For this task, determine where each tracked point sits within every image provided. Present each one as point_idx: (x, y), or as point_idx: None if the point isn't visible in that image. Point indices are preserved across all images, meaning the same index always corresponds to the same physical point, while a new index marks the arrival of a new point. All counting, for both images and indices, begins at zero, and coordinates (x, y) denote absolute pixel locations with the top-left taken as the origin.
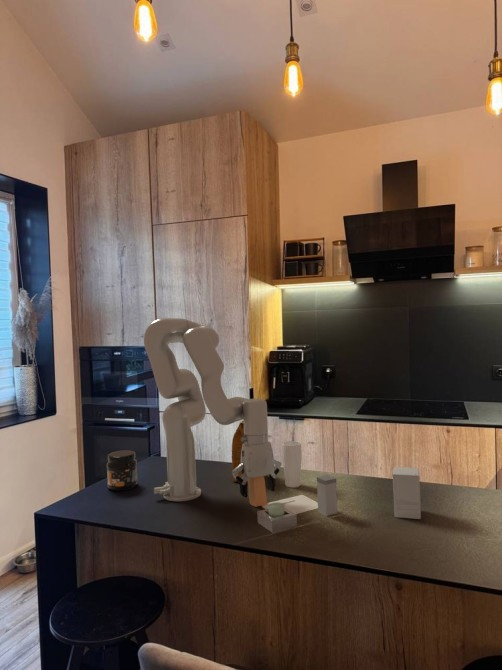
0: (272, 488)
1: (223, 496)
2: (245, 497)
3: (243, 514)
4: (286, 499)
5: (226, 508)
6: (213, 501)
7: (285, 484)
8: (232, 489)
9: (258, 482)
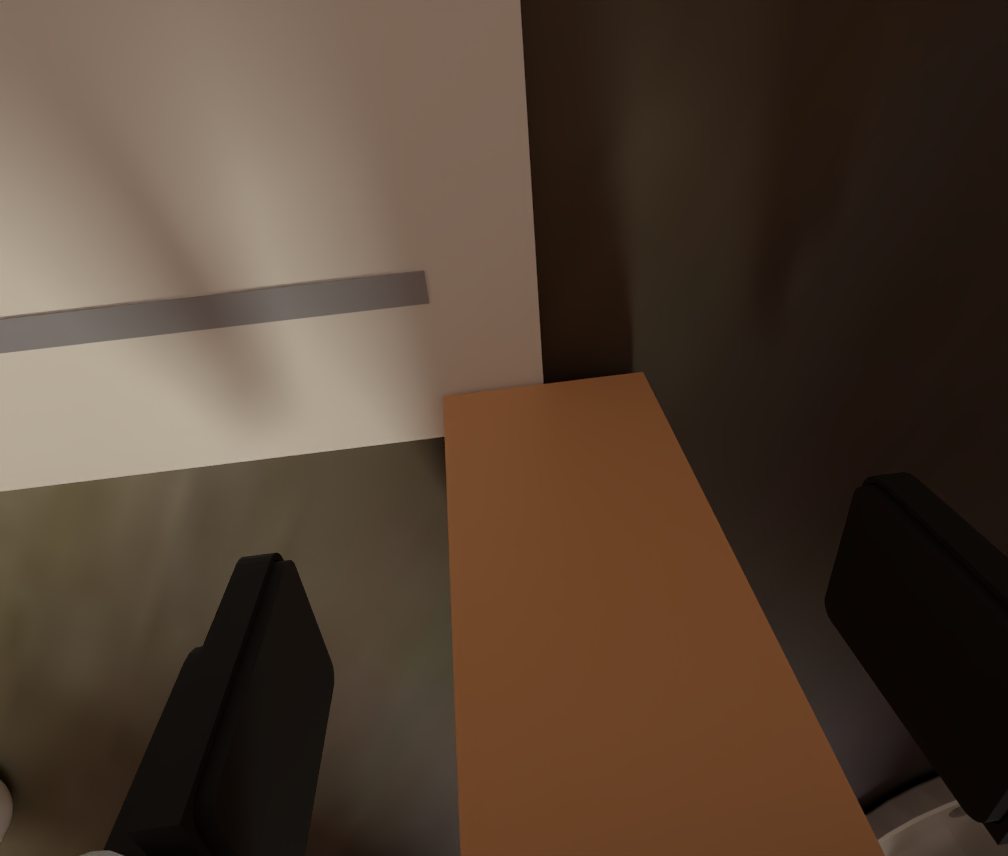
0: (274, 596)
1: None
2: (897, 477)
3: (909, 238)
4: (75, 451)
5: None
6: None
7: (9, 814)
8: None
9: (665, 755)
